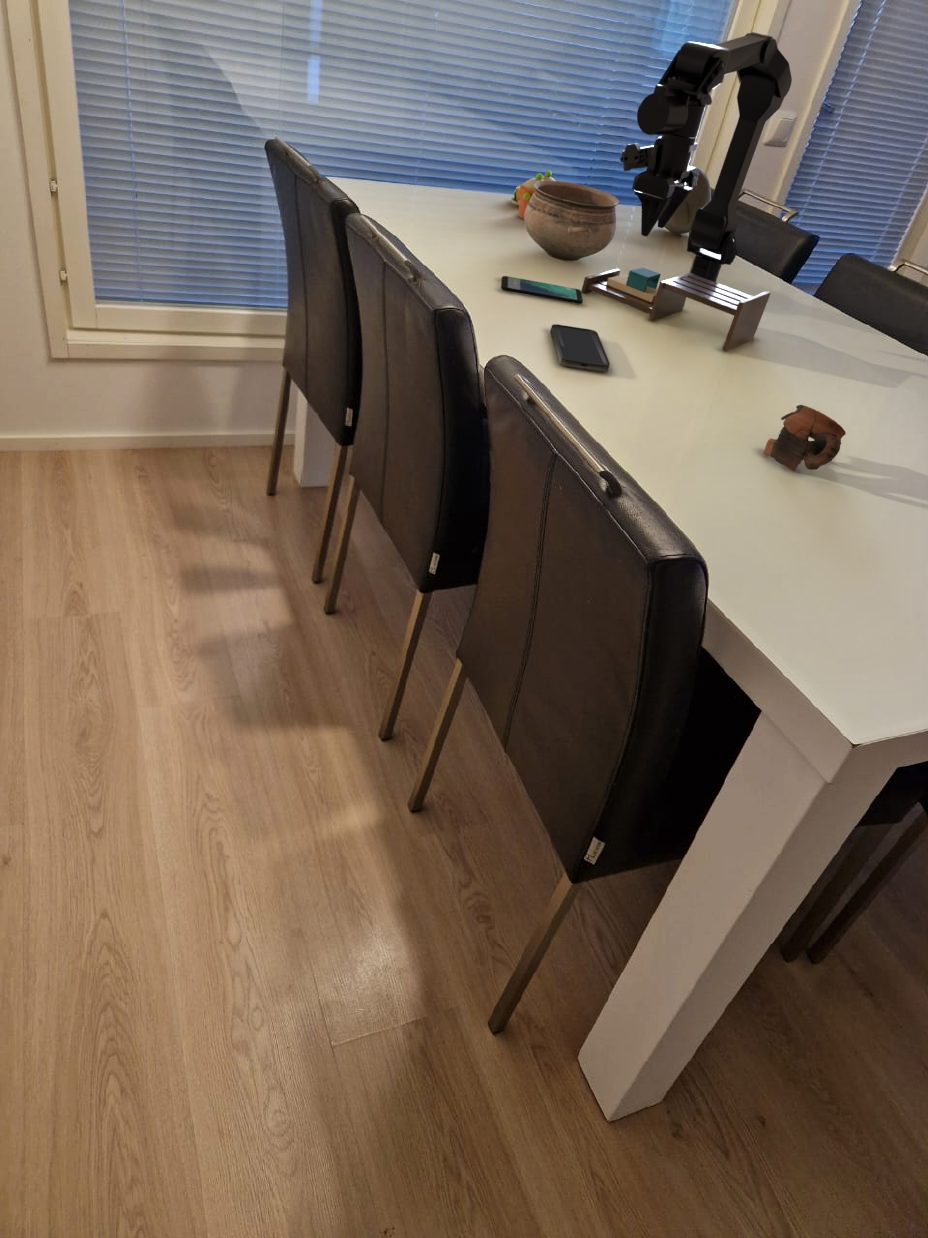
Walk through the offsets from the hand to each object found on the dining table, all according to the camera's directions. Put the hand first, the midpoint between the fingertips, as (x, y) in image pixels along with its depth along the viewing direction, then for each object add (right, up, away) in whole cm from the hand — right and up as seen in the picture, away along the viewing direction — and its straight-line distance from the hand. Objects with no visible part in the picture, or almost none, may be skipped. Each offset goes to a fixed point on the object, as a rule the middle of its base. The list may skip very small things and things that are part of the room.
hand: (652, 231), depth 154 cm
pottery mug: (+13, -48, -35) cm, 60 cm away
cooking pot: (-13, +7, +27) cm, 30 cm away
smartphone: (-19, -9, +5) cm, 22 cm away
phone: (-15, -26, -16) cm, 34 cm away
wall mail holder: (-2, -8, +8) cm, 11 cm away
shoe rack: (+4, -13, +6) cm, 15 cm away
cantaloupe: (+18, +26, +60) cm, 67 cm away
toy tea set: (-15, +28, +53) cm, 62 cm away
